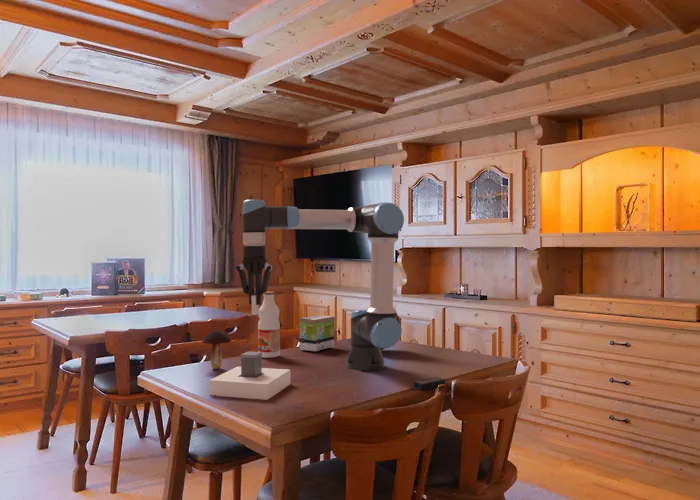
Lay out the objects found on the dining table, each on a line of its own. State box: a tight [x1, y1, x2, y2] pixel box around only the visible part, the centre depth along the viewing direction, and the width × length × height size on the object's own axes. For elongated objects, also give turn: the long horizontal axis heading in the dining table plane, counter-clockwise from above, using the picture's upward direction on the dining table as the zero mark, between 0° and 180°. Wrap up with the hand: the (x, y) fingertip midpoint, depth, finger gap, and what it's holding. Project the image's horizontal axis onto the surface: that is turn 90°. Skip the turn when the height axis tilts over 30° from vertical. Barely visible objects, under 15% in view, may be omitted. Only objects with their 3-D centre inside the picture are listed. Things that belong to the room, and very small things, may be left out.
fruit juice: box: [257, 290, 281, 359], centre depth 232 cm, size 9×9×28 cm
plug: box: [240, 351, 263, 378], centre depth 177 cm, size 5×5×10 cm
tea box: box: [299, 314, 336, 352], centre depth 249 cm, size 15×10×15 cm, turn 148°
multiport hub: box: [413, 376, 446, 392], centre depth 182 cm, size 4×11×2 cm, turn 125°
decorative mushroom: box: [201, 330, 232, 370], centre depth 207 cm, size 11×11×15 cm
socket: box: [208, 366, 291, 401], centre depth 178 cm, size 20×20×5 cm
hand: (255, 314), depth 182 cm, fingers closed
